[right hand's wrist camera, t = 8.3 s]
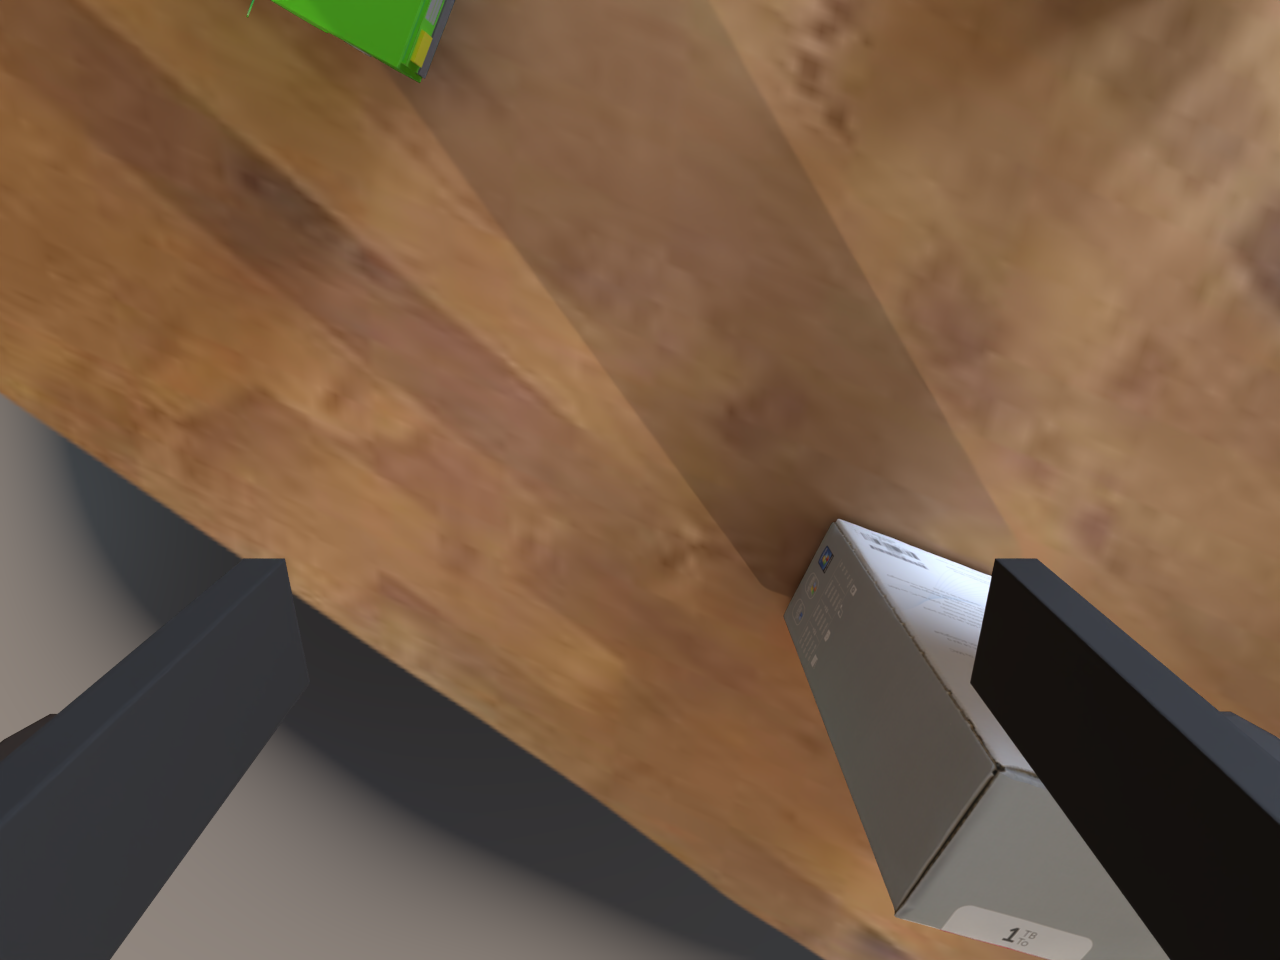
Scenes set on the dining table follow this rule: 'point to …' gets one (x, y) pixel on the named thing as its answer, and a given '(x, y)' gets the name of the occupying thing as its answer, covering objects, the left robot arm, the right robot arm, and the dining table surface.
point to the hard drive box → (944, 758)
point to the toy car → (381, 28)
